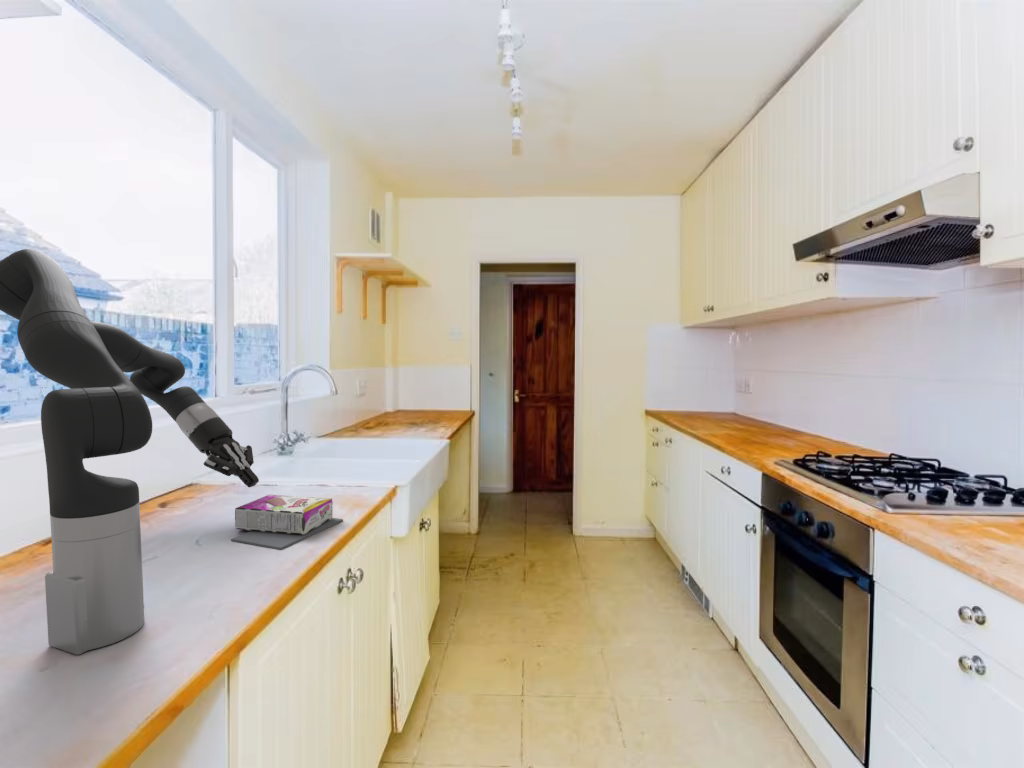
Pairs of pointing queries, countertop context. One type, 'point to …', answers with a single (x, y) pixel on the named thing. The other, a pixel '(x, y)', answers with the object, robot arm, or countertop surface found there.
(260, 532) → the mat
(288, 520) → the candy bar box
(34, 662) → the countertop surface
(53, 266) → the robot arm
